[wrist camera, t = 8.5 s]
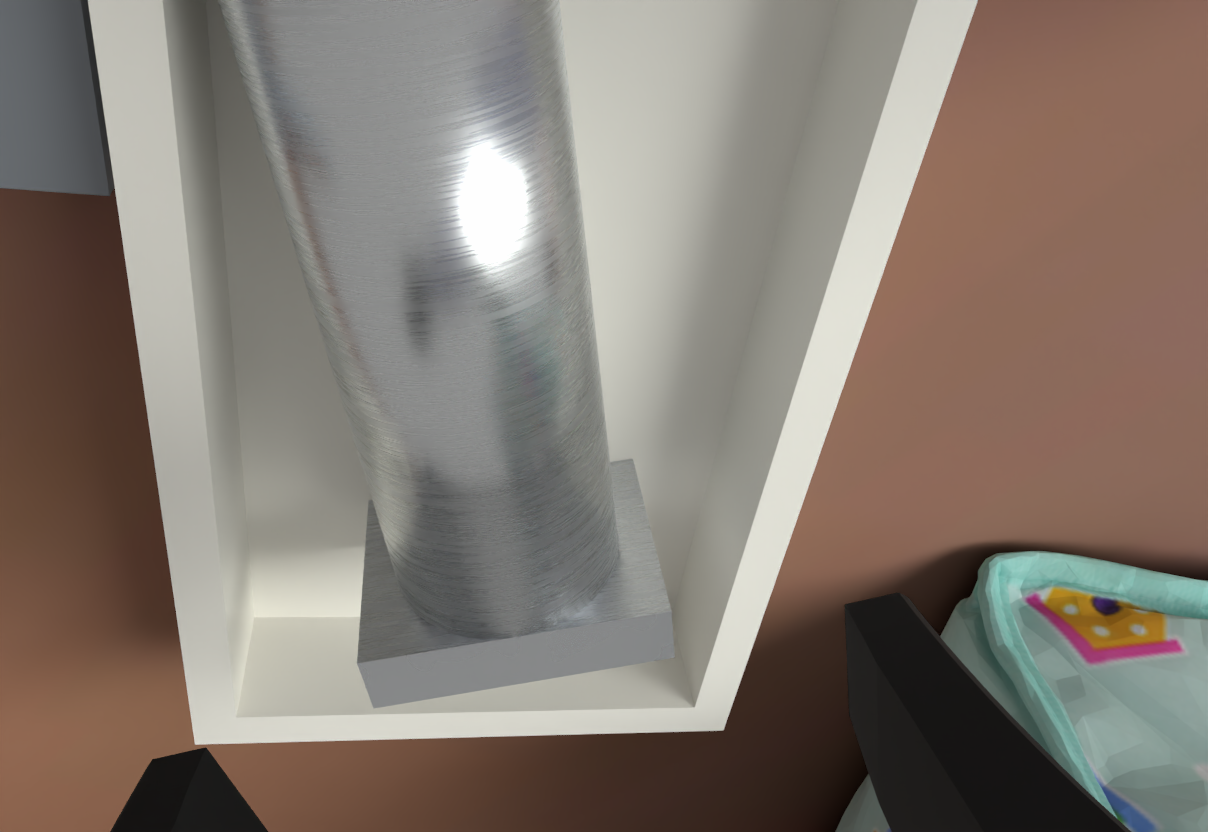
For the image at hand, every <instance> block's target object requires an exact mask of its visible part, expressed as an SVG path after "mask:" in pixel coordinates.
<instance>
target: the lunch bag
mask: <svg viewBox="0 0 1208 832" xmlns="http://www.w3.org/2000/svg"><path fill="white" fill-rule="evenodd" d="M940 637H941V638H942V640H943V641H944V642H945V643H946V644H947V646H948V647H949V648H950V649H951V650H952V651H953V652H954V654H955V655H956V656H957V657H958V658H959V659H960V660H961V662H962V663H963V664H964V665H965V666H966V667H967V668H968V669H969V671H970V672H971V673H972V674H973V675H974V676H975V677H976V678H977V679H978V680H979V682H980V683H981V684H982V685H983V686H984V687H985V688H986V689H987V690H988V691H989V693H990V694H991V695H992V696H993V697H994V698H995V699H996V700H997V701H998V702H999V703H1000V704H1001V705H1002V706H1003V707H1004V709H1005V710H1006V711H1007V712H1008V713H1009V714H1010V715H1011V716H1012V717H1013V718H1014V719H1015V720H1016V721H1017V722H1018V723H1019V724H1020V725H1021V726H1022V727H1023V728H1024V729H1025V730H1026V731H1027V732H1028V733H1029V734H1030V735H1031V736H1032V737H1033V738H1034V739H1035V740H1036V741H1037V742H1038V743H1039V744H1040V745H1041V746H1042V747H1043V748H1044V749H1045V750H1046V751H1047V752H1048V753H1049V754H1050V755H1051V756H1052V757H1053V758H1054V759H1055V760H1056V761H1057V762H1058V763H1059V764H1060V765H1061V766H1062V767H1063V768H1064V769H1065V770H1066V771H1067V772H1068V773H1069V774H1070V775H1071V776H1072V777H1073V778H1074V779H1075V780H1076V781H1077V782H1078V783H1079V784H1080V785H1081V786H1082V787H1083V788H1085V789H1086V790H1087V791H1088V792H1089V793H1090V794H1091V795H1092V796H1093V797H1094V798H1095V799H1096V800H1097V801H1098V802H1100V803H1101V804H1102V805H1103V806H1104V807H1105V808H1106V809H1107V810H1108V811H1109V812H1110V813H1112V814H1113V815H1114V816H1115V817H1116V818H1117V819H1118V820H1119V821H1120V822H1121V823H1122V824H1124V825H1125V826H1126V827H1127V828H1128V829H1129V830H1130V831H1131V832H1208V580H1196V579H1191V578H1186V577H1181V576H1176V575H1171V574H1166V573H1161V572H1156V571H1151V570H1147V569H1142V568H1138V567H1133V566H1128V565H1124V564H1119V563H1114V562H1110V561H1105V560H1100V559H1095V558H1089V557H1084V556H1079V555H1071V554H1063V553H1055V552H1047V551H1023V552H1008V553H996V554H994V555H992V556H990V557H988V558H987V559H985V561H984V562H983V564H982V565H981V567H980V568H979V570H978V580H977V582H976V585H975V587H974V590H973V592H972V594H971V596H970V597H968V598H965V599H963V600H961V601H960V602H959V603H958V604H957V605H956V607H955V609H954V611H953V612H952V614H951V616H950V618H949V620H948V622H947V624H946V626H945V628H944V630H943V632H942V634H941V636H940ZM835 832H891V829H890V827H889V825H888V823H887V820H886V818H885V816H884V814H883V811H882V809H881V807H880V805H879V802H878V799H877V796H876V794H875V791H874V788H873V785H872V782H871V779H870V776H869V774H868V775H867V777H866V778H865V780H864V781H863V783H862V784H861V785H860V787H859V788H858V790H857V791H856V793H855V795H854V796H853V798H852V800H851V802H850V804H849V805H848V807H847V809H846V811H845V813H844V814H843V816H842V818H841V821H840V823H839V825H838V827H837V829H836V831H835Z"/></svg>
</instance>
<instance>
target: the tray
mask: <svg viewBox="0 0 1208 832" xmlns="http://www.w3.org/2000/svg"><path fill="white" fill-rule="evenodd" d="M977 1H978V0H559V2H560V11H561V20H562V30H563V39H564V48H565V57H566V66H567V75H568V84H569V93H570V102H571V111H572V121H573V130H574V139H575V148H576V157H577V166H578V175H579V184H580V193H581V202H582V211H583V221H584V230H585V239H586V248H587V257H588V266H589V275H590V284H591V293H592V302H593V311H594V321H595V330H596V339H597V348H598V357H599V366H600V375H601V384H602V393H603V402H604V412H605V421H606V430H607V439H608V448H609V457H610V462H614V461H621V460H627V459H633V461H634V465H635V469H636V473H637V477H638V481H639V485H640V489H641V493H642V497H643V501H644V505H645V509H646V513H647V516H648V520H649V524H650V528H651V532H652V536H653V540H654V544H655V548H656V552H657V556H658V560H659V564H660V568H661V572H662V576H663V579H664V583H665V587H666V591H667V595H668V599H669V603H670V607H671V611H672V625H673V639H674V654H675V658H670V659H664V660H658V661H652V662H646V663H640V664H634V665H628V666H622V667H617V668H611V669H605V670H599V671H593V672H587V673H581V674H575V675H569V676H563V677H557V678H552V679H546V680H540V681H534V682H528V683H522V684H516V685H510V686H504V687H498V688H493V689H487V690H481V691H475V692H469V693H463V694H457V695H451V696H445V697H439V698H433V699H428V700H422V701H416V702H410V703H404V704H398V705H392V706H386V707H380V708H373V705H372V703H371V700H370V697H369V695H368V692H367V689H366V687H365V684H364V681H363V679H362V676H361V673H360V671H359V668H358V665H357V655H358V641H359V627H360V613H361V599H362V585H363V571H364V557H365V543H366V529H367V515H368V501H369V500H372V498H371V494H370V491H369V488H368V485H367V481H366V478H365V475H364V472H363V469H362V465H361V462H360V459H359V456H358V452H357V449H356V446H355V443H354V439H353V436H352V433H351V430H350V427H349V423H348V420H347V417H346V414H345V410H344V407H343V404H342V401H341V397H340V394H339V391H338V388H337V384H336V381H335V378H334V375H333V372H332V368H331V365H330V362H329V359H328V355H327V352H326V349H325V346H324V342H323V339H322V336H321V333H320V329H319V326H318V323H317V320H316V317H315V313H314V310H313V307H312V304H311V300H310V297H309V294H308V291H307V287H306V284H305V281H304V278H303V274H302V271H301V268H300V265H299V262H298V258H297V255H296V252H295V249H294V245H293V242H292V239H291V236H290V232H289V229H288V226H287V223H286V219H285V216H284V213H283V210H282V207H281V203H280V200H279V197H278V194H277V190H276V187H275V184H274V181H273V177H272V174H271V171H270V168H269V164H268V161H267V158H266V155H265V152H264V148H263V145H262V142H261V139H260V135H259V132H258V129H257V126H256V122H255V119H254V116H253V113H252V109H251V106H250V103H249V100H248V97H247V93H246V90H245V87H244V84H243V80H242V77H241V74H240V71H239V67H238V64H237V61H236V58H235V54H234V51H233V48H232V45H231V42H230V38H229V35H228V32H227V29H226V25H225V22H224V19H223V16H222V12H221V9H220V6H219V3H218V0H88V6H89V13H90V20H91V26H92V33H93V40H94V47H95V54H96V61H97V68H98V75H99V82H100V89H101V96H102V103H103V110H104V117H105V124H106V130H107V137H108V144H109V151H110V158H111V165H112V172H113V179H114V186H115V193H116V200H117V207H118V214H119V221H120V228H121V235H122V241H123V248H124V255H125V262H126V269H127V276H128V283H129V290H130V297H131V304H132V311H133V318H134V325H135V332H136V339H137V345H138V352H139V359H140V366H141V373H142V380H143V387H144V394H145V401H146V408H147V415H148V422H149V429H150V436H151V443H152V450H153V456H154V463H155V470H156V477H157V484H158V491H159V498H160V505H161V512H162V519H163V526H164V533H165V540H166V547H167V554H168V560H169V567H170V574H171V581H172V588H173V595H174V602H175V609H176V616H177V623H178V630H179V637H180V644H181V651H182V658H183V664H184V671H185V678H186V685H187V692H188V699H189V706H190V713H191V720H192V727H193V734H194V741H195V745H198V744H236V743H274V742H311V741H349V740H387V739H425V738H462V737H500V736H538V735H576V734H614V733H651V732H689V731H723V730H724V727H725V725H726V722H727V719H728V716H729V713H730V710H731V707H732V705H733V702H734V699H735V696H736V693H737V690H738V687H739V684H740V682H741V679H742V676H743V673H744V670H745V667H746V664H747V661H748V659H749V656H750V653H751V650H752V647H753V644H754V641H755V639H756V636H757V633H758V630H759V627H760V624H761V621H762V618H763V616H764V613H765V610H766V607H767V604H768V601H769V598H770V595H771V593H772V590H773V587H774V584H775V581H776V578H777V575H778V573H779V570H780V567H781V564H782V561H783V558H784V555H785V552H786V550H787V547H788V544H789V541H790V538H791V535H792V532H793V529H794V527H795V524H796V521H797V518H798V515H799V512H800V509H801V507H802V504H803V501H804V498H805V495H806V492H807V489H808V486H809V484H810V481H811V478H812V475H813V472H814V469H815V466H816V463H817V461H818V458H819V455H820V452H821V449H822V446H823V443H824V441H825V438H826V435H827V432H828V429H829V426H830V423H831V420H832V418H833V415H834V412H835V409H836V406H837V403H838V400H839V397H840V395H841V392H842V389H843V386H844V383H845V380H846V377H847V375H848V372H849V369H850V366H851V363H852V360H853V357H854V354H855V352H856V349H857V346H858V343H859V340H860V337H861V334H862V331H863V329H864V326H865V323H866V320H867V317H868V314H869V311H870V308H871V306H872V303H873V300H874V297H875V294H876V291H877V288H878V286H879V283H880V280H881V277H882V274H883V271H884V268H885V265H886V263H887V260H888V257H889V254H890V251H891V248H892V245H893V242H894V240H895V237H896V234H897V231H898V228H899V225H900V222H901V220H902V217H903V214H904V211H905V208H906V205H907V202H908V199H909V197H910V194H911V191H912V188H913V185H914V182H915V179H916V176H917V174H918V171H919V168H920V165H921V162H922V159H923V156H924V154H925V151H926V148H927V145H928V142H929V139H930V136H931V133H932V131H933V128H934V125H935V122H936V119H937V116H938V113H939V110H940V108H941V105H942V102H943V99H944V96H945V93H946V90H947V88H948V85H949V82H950V79H951V76H952V73H953V70H954V67H955V65H956V62H957V59H958V56H959V53H960V50H961V47H962V44H963V42H964V39H965V36H966V33H967V30H968V27H969V24H970V22H971V19H972V16H973V13H974V10H975V7H976V4H977Z"/></svg>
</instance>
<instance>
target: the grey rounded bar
mask: <svg viewBox="0 0 1208 832" xmlns="http://www.w3.org/2000/svg"><path fill="white" fill-rule="evenodd" d="M218 3H219V6H220V9H221V12H222V16H223V19H224V22H225V25H226V29H227V32H228V35H229V38H230V42H231V45H232V48H233V51H234V54H235V58H236V61H237V64H238V67H239V71H240V74H241V77H242V80H243V84H244V87H245V90H246V93H247V97H248V100H249V103H250V106H251V109H252V113H253V116H254V119H255V122H256V126H257V129H258V132H259V135H260V139H261V142H262V145H263V148H264V152H265V155H266V158H267V161H268V164H269V168H270V171H271V174H272V177H273V181H274V184H275V187H276V190H277V194H278V197H279V200H280V203H281V207H282V210H283V213H284V216H285V219H286V223H287V226H288V229H289V232H290V236H291V239H292V242H293V245H294V249H295V252H296V255H297V258H298V262H299V265H300V268H301V271H302V274H303V278H304V281H305V284H306V287H307V291H308V294H309V297H310V300H311V304H312V307H313V310H314V313H315V317H316V320H317V323H318V326H319V329H320V333H321V336H322V339H323V342H324V346H325V349H326V352H327V355H328V359H329V362H330V365H331V368H332V372H333V375H334V378H335V381H336V384H337V388H338V391H339V394H340V397H341V401H342V404H343V407H344V410H345V414H346V417H347V420H348V423H349V427H350V430H351V433H352V436H353V439H354V443H355V446H356V449H357V452H358V456H359V459H360V462H361V465H362V469H363V472H364V475H365V478H366V481H367V485H368V488H369V491H370V494H371V498H372V500H369V501H368V515H367V529H366V543H365V557H364V571H363V585H362V599H361V613H360V627H359V641H358V655H357V665H358V668H359V671H360V673H361V676H362V679H363V681H364V684H365V687H366V689H367V692H368V695H369V697H370V700H371V703H372V705H373V708H380V707H386V706H392V705H398V704H404V703H410V702H416V701H422V700H428V699H433V698H439V697H445V696H451V695H457V694H463V693H469V692H475V691H481V690H487V689H493V688H498V687H504V686H510V685H516V684H522V683H528V682H534V681H540V680H546V679H552V678H557V677H563V676H569V675H575V674H581V673H587V672H593V671H599V670H605V669H611V668H617V667H622V666H628V665H634V664H640V663H646V662H652V661H658V660H664V659H670V658H675V654H674V639H673V625H672V611H671V607H670V603H669V599H668V595H667V591H666V587H665V583H664V579H663V576H662V572H661V568H660V564H659V560H658V556H657V552H656V548H655V544H654V540H653V536H652V532H651V528H650V524H649V520H648V516H647V513H646V509H645V505H644V501H643V497H642V493H641V489H640V485H639V481H638V477H637V473H636V469H635V465H634V461H633V459H627V460H621V461H614V462H610V457H609V448H608V439H607V430H606V421H605V412H604V402H603V393H602V384H601V375H600V366H599V357H598V348H597V339H596V330H595V321H594V311H593V302H592V293H591V284H590V275H589V266H588V257H587V248H586V239H585V230H584V221H583V211H582V202H581V193H580V184H579V175H578V166H577V157H576V148H575V139H574V130H573V121H572V111H571V102H570V93H569V84H568V75H567V66H566V57H565V48H564V39H563V30H562V20H561V11H560V2H559V0H218Z"/></svg>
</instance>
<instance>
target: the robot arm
mask: <svg viewBox="0 0 1208 832" xmlns="http://www.w3.org/2000/svg"><path fill="white" fill-rule="evenodd" d="M845 626H846V650H847V674H848V698H849V715H850V718H851V721H852V725H853V728H854V731H855V734H856V737H857V740H858V743H859V746H860V749H861V752H862V755H863V758H864V761H865V764H866V767H867V770H868V773H869V776H870V779H871V782H872V785H873V788H874V791H875V794H876V796H877V799H878V802H879V805H880V807H881V809H882V811H883V814H884V816H885V818H886V820H887V823H888V825H889V827H890V829H891V832H1131V831H1130V830H1129V829H1128V828H1127V827H1126V826H1125V825H1124V824H1122V823H1121V822H1120V821H1119V820H1118V819H1117V818H1116V817H1115V816H1114V815H1113V814H1112V813H1110V812H1109V811H1108V810H1107V809H1106V808H1105V807H1104V806H1103V805H1102V804H1101V803H1100V802H1098V801H1097V800H1096V799H1095V798H1094V797H1093V796H1092V795H1091V794H1090V793H1089V792H1088V791H1087V790H1086V789H1085V788H1083V787H1082V786H1081V785H1080V784H1079V783H1078V782H1077V781H1076V780H1075V779H1074V778H1073V777H1072V776H1071V775H1070V774H1069V773H1068V772H1067V771H1066V770H1065V769H1064V768H1063V767H1062V766H1061V765H1060V764H1059V763H1058V762H1057V761H1056V760H1055V759H1054V758H1053V757H1052V756H1051V755H1050V754H1049V753H1048V752H1047V751H1046V750H1045V749H1044V748H1043V747H1042V746H1041V745H1040V744H1039V743H1038V742H1037V741H1036V740H1035V739H1034V738H1033V737H1032V736H1031V735H1030V734H1029V733H1028V732H1027V731H1026V730H1025V729H1024V728H1023V727H1022V726H1021V725H1020V724H1019V723H1018V722H1017V721H1016V720H1015V719H1014V718H1013V717H1012V716H1011V715H1010V714H1009V713H1008V712H1007V711H1006V710H1005V709H1004V707H1003V706H1002V705H1001V704H1000V703H999V702H998V701H997V700H996V699H995V698H994V697H993V696H992V695H991V694H990V693H989V691H988V690H987V689H986V688H985V687H984V686H983V685H982V684H981V683H980V682H979V680H978V679H977V678H976V677H975V676H974V675H973V674H972V673H971V672H970V671H969V669H968V668H967V667H966V666H965V665H964V664H963V663H962V662H961V660H960V659H959V658H958V657H957V656H956V655H955V654H954V652H953V651H952V650H951V649H950V648H949V647H948V646H947V644H946V643H945V642H944V641H943V640H942V638H941V637H940V636H939V635H938V634H937V633H936V631H935V630H934V629H933V628H932V626H931V625H930V624H929V623H928V622H927V620H926V619H925V618H924V617H923V616H922V614H921V613H920V612H919V610H918V609H917V608H916V607H915V605H914V604H913V603H912V602H911V600H910V599H909V598H908V597H906V596H905V595H903V594H901V593H894V594H890V595H885V596H881V597H876V598H872V599H867V600H863V601H858V602H854V603H850V604H845ZM110 832H268V831H267V829H266V828H265V827H264V825H263V824H262V823H261V821H260V820H259V819H258V817H257V816H256V815H255V813H254V812H253V810H252V809H251V808H250V806H249V805H248V804H247V802H246V801H245V800H244V798H243V797H242V796H241V794H240V793H239V791H238V790H237V789H236V787H235V786H234V785H233V783H232V782H231V781H230V779H229V778H228V777H227V775H226V774H225V772H224V771H223V770H222V768H221V767H220V766H219V764H218V763H217V762H216V760H215V759H214V758H213V756H212V755H211V753H210V752H209V751H208V749H207V748H201V749H197V750H192V751H188V752H184V753H179V754H175V755H170V756H166V757H161V758H157V759H152V761H151V762H150V764H149V765H148V767H147V769H146V770H145V772H144V774H143V775H142V777H141V779H140V781H139V782H138V784H137V786H136V787H135V789H134V791H133V793H132V794H131V796H130V798H129V800H128V801H127V803H126V805H125V807H124V808H123V810H122V812H121V814H120V815H119V817H118V819H117V821H116V823H115V824H114V826H113V828H112V830H111V831H110Z"/></svg>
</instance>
